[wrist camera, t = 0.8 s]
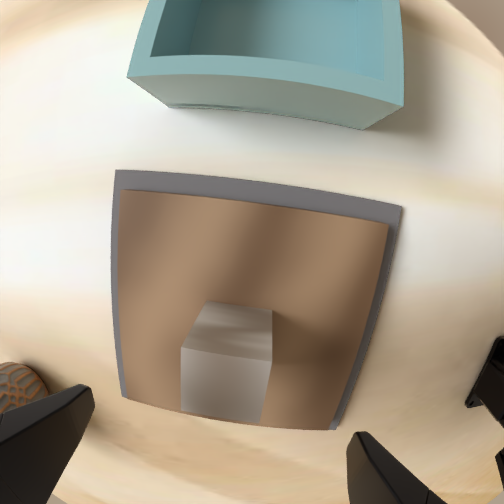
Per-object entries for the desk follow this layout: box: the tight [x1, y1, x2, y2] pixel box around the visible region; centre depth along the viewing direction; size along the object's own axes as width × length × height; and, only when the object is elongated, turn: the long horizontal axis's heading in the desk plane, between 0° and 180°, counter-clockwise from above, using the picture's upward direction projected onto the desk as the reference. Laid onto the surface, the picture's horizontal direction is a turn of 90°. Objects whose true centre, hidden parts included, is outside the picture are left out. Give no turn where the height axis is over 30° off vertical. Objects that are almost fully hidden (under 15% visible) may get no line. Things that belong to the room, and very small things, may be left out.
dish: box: [127, 0, 404, 130], centre depth 10 cm, size 10×10×5 cm
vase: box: [0, 362, 49, 413], centre depth 15 cm, size 7×7×9 cm
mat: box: [111, 170, 402, 430], centre depth 16 cm, size 15×15×1 cm
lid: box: [117, 189, 389, 430], centre depth 13 cm, size 13×13×6 cm
